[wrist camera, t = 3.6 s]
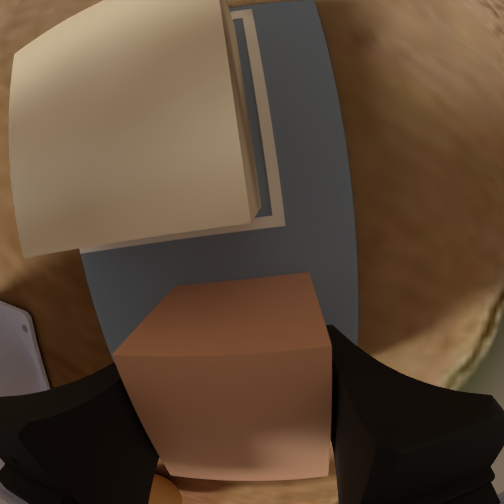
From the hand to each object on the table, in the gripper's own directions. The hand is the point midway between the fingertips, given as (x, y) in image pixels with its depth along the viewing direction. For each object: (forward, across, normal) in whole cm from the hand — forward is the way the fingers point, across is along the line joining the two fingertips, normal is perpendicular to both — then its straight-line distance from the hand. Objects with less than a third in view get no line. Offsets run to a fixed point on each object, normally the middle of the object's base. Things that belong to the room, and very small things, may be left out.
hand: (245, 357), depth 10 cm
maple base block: (+1, +2, -8) cm, 9 cm away
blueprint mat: (+2, +1, -5) cm, 5 cm away
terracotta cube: (+1, 0, 0) cm, 1 cm away
